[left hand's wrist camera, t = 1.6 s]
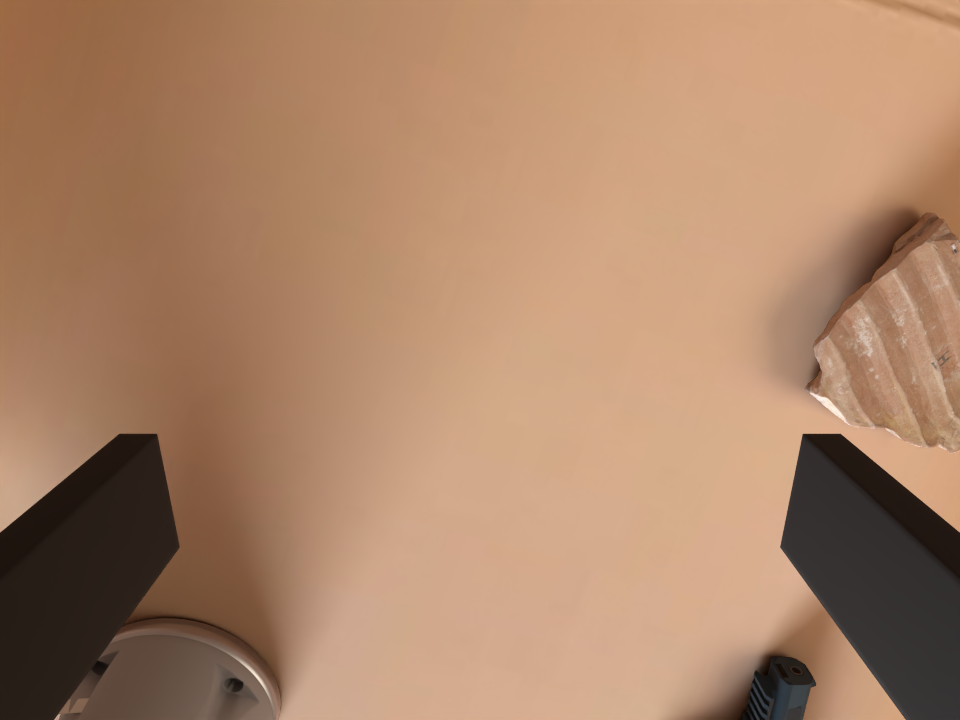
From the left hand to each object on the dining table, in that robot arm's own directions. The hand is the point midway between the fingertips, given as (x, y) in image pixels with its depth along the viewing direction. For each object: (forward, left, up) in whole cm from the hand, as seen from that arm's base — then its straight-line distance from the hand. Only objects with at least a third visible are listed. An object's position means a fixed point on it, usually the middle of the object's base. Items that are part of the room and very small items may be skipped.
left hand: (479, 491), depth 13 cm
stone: (-9, +26, -26) cm, 38 cm away
